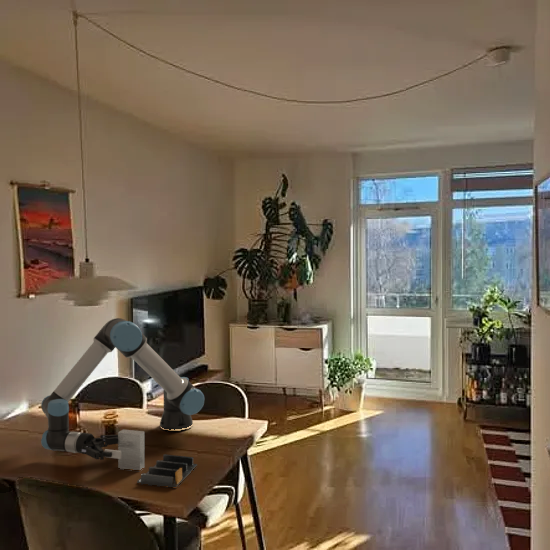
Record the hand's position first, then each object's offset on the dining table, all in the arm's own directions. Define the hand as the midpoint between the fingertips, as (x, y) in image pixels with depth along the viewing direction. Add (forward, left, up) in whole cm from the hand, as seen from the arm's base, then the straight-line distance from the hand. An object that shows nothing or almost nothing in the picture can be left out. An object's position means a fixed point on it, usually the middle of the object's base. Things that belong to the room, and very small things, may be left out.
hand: (130, 448), depth 198 cm
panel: (0, 0, -8) cm, 8 cm away
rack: (+2, +16, -8) cm, 18 cm away
